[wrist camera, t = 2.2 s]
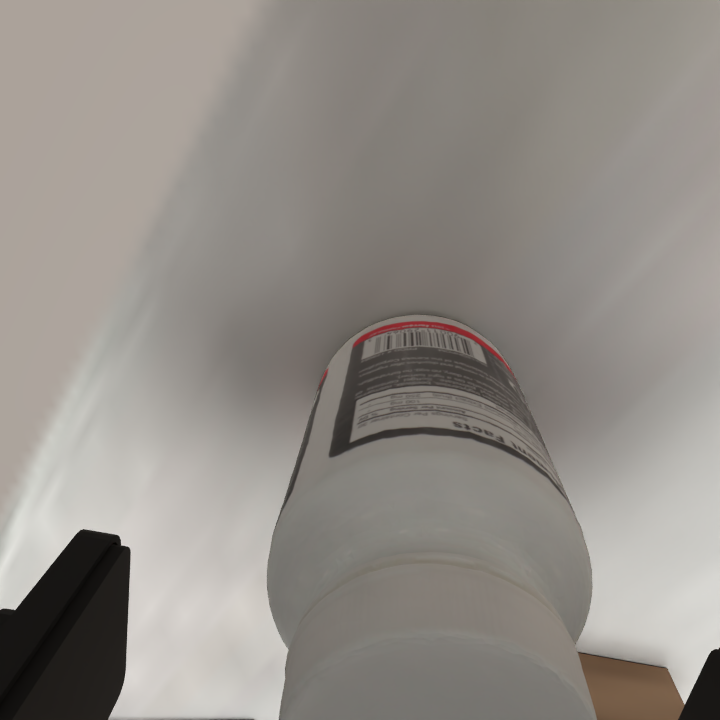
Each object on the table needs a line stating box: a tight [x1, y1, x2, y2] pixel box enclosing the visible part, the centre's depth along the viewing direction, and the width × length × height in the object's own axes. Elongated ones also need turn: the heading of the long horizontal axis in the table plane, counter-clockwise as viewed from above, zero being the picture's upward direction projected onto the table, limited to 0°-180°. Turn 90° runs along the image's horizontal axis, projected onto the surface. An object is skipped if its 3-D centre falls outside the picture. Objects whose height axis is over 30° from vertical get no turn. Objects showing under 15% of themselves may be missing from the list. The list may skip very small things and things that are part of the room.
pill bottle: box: [267, 315, 597, 720], centre depth 12 cm, size 5×5×10 cm
